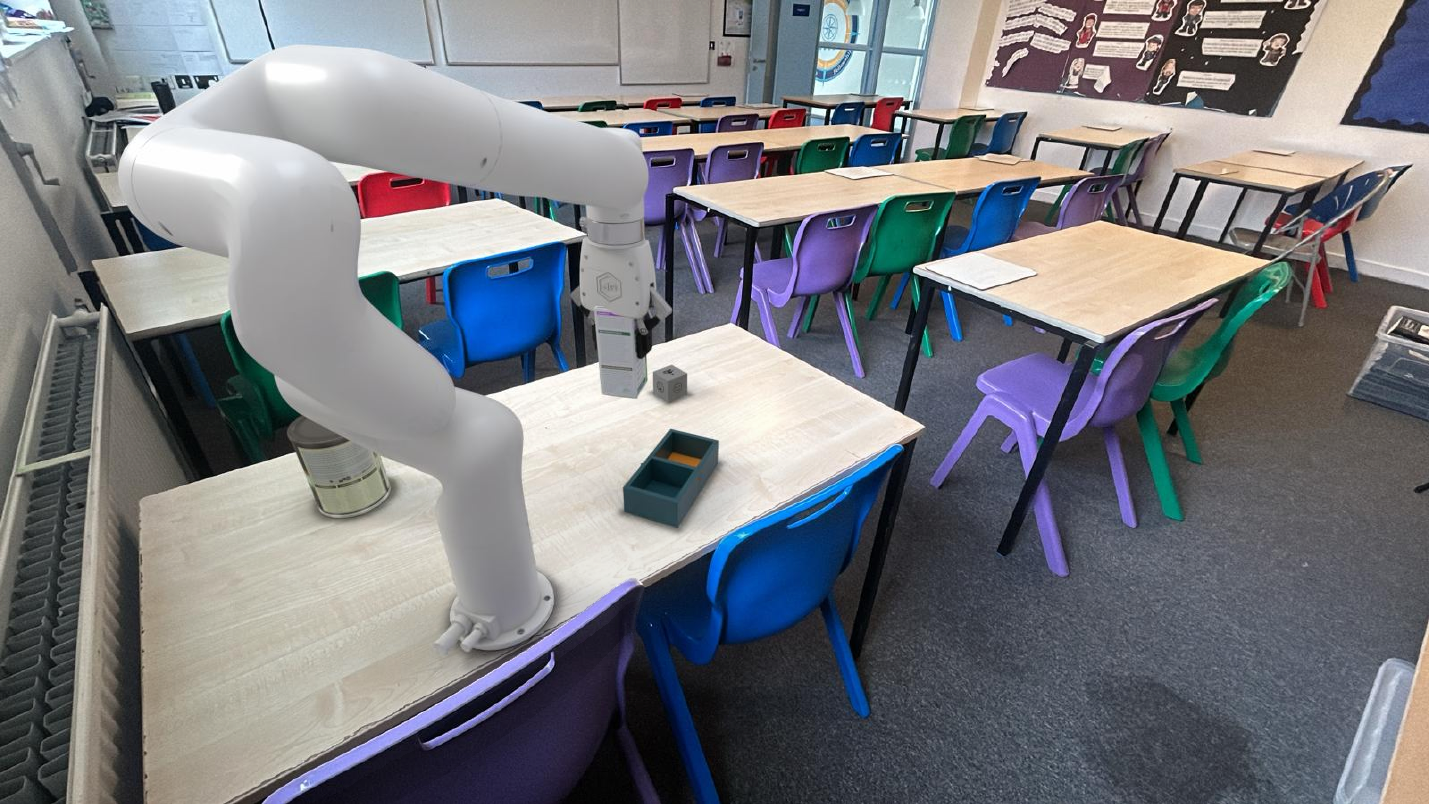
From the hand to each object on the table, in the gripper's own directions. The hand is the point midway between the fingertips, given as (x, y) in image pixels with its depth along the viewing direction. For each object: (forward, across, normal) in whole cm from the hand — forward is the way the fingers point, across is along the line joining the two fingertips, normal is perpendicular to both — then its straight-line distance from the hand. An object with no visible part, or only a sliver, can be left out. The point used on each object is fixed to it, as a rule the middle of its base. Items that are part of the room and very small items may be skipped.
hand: (622, 349), depth 90 cm
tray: (+24, +8, 0) cm, 25 cm away
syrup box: (+7, 0, 0) cm, 7 cm away
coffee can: (+24, -37, -21) cm, 49 cm away
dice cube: (+24, -4, +27) cm, 36 cm away
